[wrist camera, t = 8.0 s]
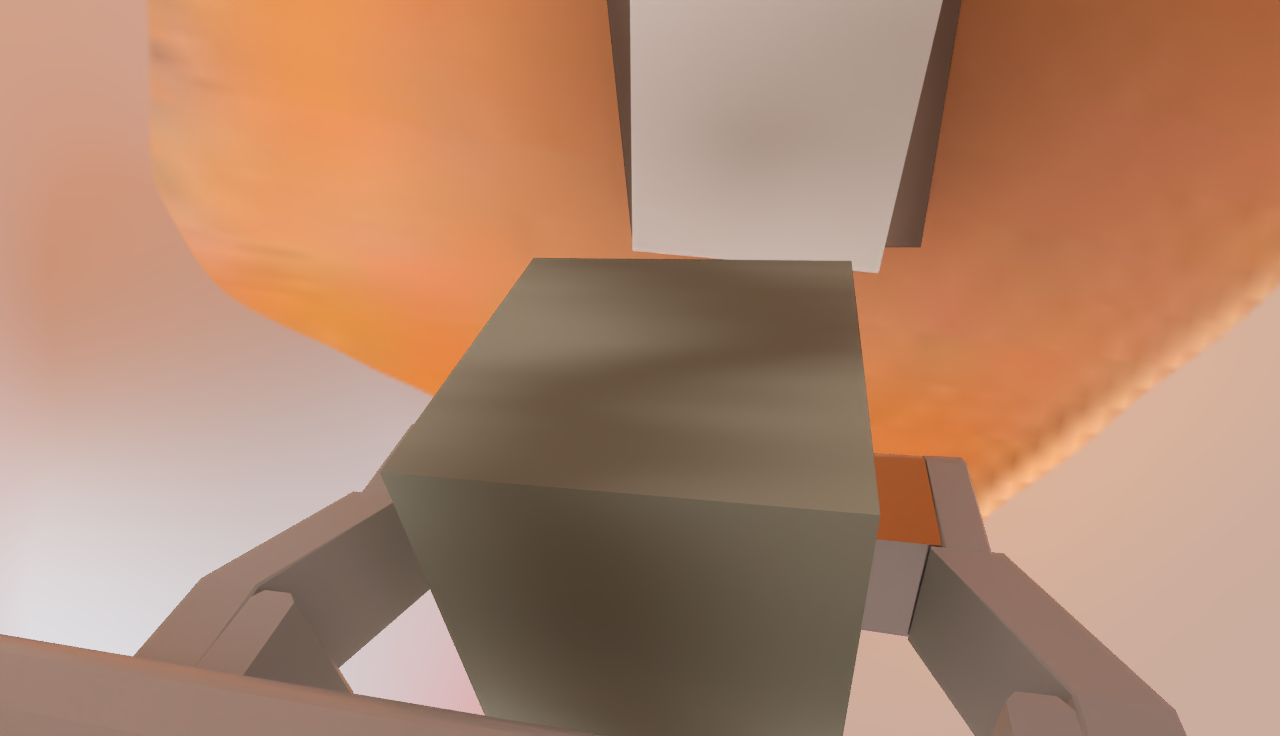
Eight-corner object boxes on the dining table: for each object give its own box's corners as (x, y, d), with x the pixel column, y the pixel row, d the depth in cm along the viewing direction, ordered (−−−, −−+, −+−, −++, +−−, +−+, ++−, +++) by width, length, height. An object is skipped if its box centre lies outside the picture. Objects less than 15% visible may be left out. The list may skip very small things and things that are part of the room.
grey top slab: (926, -31, 22) (946, -16, 19) (870, 226, 27) (878, 273, 24) (654, -37, 23) (629, -23, 20) (651, 209, 28) (632, 250, 25)
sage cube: (850, 260, 10) (879, 514, 6) (827, 497, 13) (835, 775, 9) (534, 258, 11) (379, 472, 7) (577, 476, 14) (485, 716, 10)
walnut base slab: (957, -118, 23) (980, -116, 20) (908, 208, 30) (920, 247, 27) (624, -83, 26) (598, -77, 23) (649, 210, 33) (632, 246, 30)
